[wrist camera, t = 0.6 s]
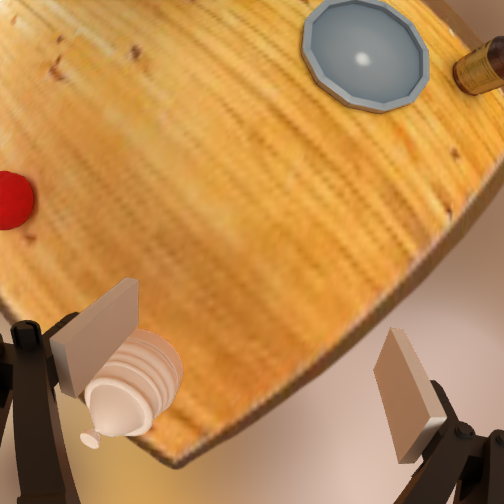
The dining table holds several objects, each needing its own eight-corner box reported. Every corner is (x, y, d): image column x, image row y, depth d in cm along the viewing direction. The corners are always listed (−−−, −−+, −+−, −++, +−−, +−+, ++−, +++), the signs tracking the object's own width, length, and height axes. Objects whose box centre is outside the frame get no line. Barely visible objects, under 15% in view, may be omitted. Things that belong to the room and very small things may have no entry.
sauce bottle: (475, 62, 35) (553, 24, 16) (485, 98, 36) (570, 72, 17) (444, 58, 35) (522, 10, 16) (455, 96, 37) (542, 62, 17)
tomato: (50, 203, 43) (16, 208, 34) (18, 240, 44) (-15, 250, 36) (27, 158, 41) (-8, 157, 33) (-4, 197, 43) (-36, 202, 35)
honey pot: (143, 406, 49) (105, 479, 32) (94, 349, 47) (36, 411, 30) (200, 378, 47) (172, 460, 30) (147, 313, 45) (91, 378, 28)
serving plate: (306, -8, 35) (308, -15, 33) (421, 21, 34) (426, 16, 32) (296, 98, 38) (297, 94, 36) (422, 125, 38) (428, 123, 36)
